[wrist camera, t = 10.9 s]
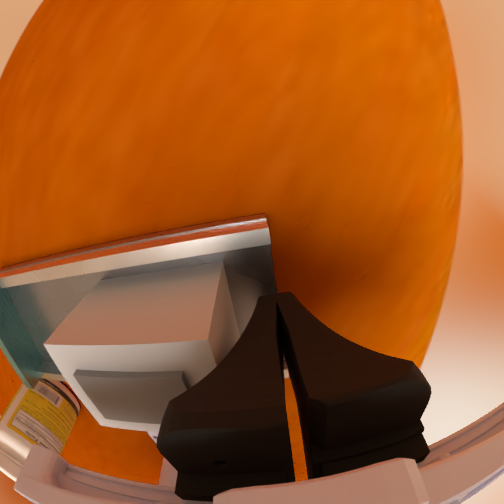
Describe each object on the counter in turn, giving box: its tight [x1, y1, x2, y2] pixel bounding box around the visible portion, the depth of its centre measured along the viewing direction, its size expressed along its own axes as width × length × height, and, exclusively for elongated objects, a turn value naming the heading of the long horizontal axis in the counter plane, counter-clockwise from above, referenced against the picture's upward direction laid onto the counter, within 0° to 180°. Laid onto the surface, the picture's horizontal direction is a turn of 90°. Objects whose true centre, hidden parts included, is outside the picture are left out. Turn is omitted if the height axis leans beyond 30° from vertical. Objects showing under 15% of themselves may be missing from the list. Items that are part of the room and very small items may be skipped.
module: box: [44, 262, 240, 432], centre depth 10 cm, size 4×6×5 cm
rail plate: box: [0, 213, 289, 389], centre depth 12 cm, size 17×8×3 cm, turn 99°
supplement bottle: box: [0, 378, 80, 482], centre depth 12 cm, size 5×5×10 cm
